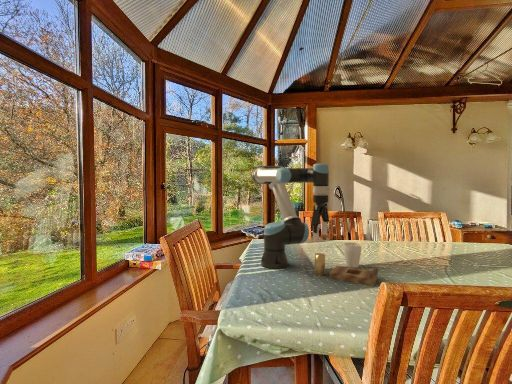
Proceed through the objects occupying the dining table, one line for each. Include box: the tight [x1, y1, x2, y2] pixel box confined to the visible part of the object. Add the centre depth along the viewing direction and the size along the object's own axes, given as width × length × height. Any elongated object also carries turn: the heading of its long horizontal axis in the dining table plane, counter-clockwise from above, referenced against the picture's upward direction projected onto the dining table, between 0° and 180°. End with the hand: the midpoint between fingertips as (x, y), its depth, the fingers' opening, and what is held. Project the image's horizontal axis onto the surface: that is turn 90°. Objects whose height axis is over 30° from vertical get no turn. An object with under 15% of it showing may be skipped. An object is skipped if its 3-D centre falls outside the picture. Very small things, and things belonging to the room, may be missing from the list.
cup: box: [343, 242, 362, 268], centre depth 159 cm, size 9×9×12 cm
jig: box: [329, 265, 379, 287], centre depth 140 cm, size 20×12×5 cm, turn 59°
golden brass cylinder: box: [314, 253, 326, 277], centre depth 146 cm, size 5×5×10 cm
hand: (320, 236), depth 145 cm, fingers open, 13 cm apart
